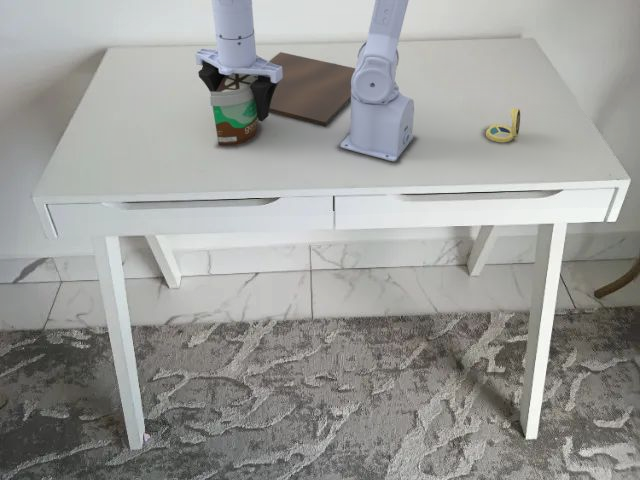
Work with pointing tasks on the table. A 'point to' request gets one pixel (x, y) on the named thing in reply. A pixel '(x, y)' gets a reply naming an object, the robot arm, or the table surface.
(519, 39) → the table surface
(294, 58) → the walnut board
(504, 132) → the eyeshadow
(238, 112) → the food container
